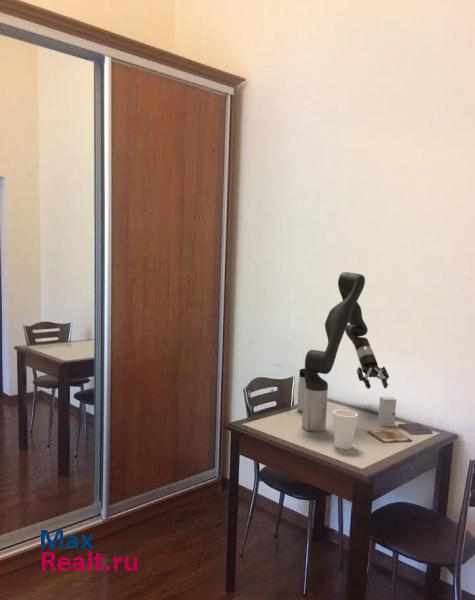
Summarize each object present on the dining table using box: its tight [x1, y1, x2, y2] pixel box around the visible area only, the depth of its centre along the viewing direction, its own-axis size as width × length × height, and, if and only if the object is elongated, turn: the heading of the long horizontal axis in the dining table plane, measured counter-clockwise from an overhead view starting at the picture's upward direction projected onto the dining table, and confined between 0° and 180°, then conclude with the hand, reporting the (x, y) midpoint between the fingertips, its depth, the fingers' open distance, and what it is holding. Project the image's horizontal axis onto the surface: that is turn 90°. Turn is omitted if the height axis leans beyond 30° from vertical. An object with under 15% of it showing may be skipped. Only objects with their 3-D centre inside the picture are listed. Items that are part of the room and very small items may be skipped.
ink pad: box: [397, 422, 433, 435], centre depth 219 cm, size 10×10×1 cm
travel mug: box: [297, 368, 306, 414], centre depth 240 cm, size 6×7×20 cm
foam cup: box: [331, 409, 359, 450], centre depth 196 cm, size 10×9×13 cm
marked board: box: [366, 429, 413, 444], centre depth 210 cm, size 13×13×1 cm
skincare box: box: [377, 396, 397, 427], centre depth 224 cm, size 6×4×12 cm
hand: (377, 387), depth 232 cm, fingers open, 8 cm apart
